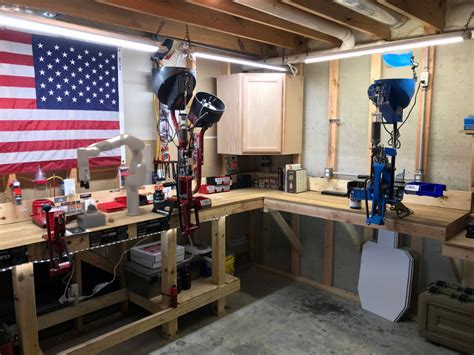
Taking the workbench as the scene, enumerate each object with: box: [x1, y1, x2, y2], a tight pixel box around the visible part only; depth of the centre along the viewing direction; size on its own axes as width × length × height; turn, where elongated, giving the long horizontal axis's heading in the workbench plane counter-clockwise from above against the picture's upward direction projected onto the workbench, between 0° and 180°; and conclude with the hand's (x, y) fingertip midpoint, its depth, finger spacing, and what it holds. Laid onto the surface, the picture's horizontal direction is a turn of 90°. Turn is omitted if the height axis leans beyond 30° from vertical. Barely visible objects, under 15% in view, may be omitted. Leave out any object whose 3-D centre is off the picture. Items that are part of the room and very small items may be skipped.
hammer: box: [65, 203, 98, 224], centre depth 286 cm, size 5×11×30 cm
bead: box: [107, 216, 115, 223], centre depth 284 cm, size 4×4×4 cm
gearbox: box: [76, 211, 107, 230], centre depth 273 cm, size 16×12×10 cm
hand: (84, 188), depth 277 cm, fingers open, 9 cm apart
